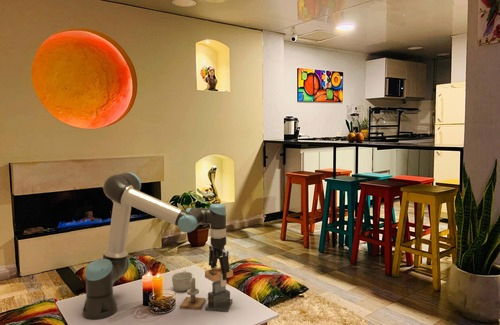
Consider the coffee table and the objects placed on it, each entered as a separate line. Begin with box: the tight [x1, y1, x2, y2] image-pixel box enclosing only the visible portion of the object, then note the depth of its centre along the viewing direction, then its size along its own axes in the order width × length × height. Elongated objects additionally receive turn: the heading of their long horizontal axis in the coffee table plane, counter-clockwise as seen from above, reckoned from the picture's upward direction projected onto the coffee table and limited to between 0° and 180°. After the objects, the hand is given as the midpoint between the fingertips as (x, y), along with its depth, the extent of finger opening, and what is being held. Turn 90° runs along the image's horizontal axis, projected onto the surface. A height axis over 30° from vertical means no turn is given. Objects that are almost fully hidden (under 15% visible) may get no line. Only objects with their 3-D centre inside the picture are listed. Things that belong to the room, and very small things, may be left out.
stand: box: [179, 277, 207, 311], centre depth 188 cm, size 10×10×13 cm
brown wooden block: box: [204, 266, 234, 283], centre depth 185 cm, size 11×7×3 cm, turn 127°
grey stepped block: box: [204, 280, 233, 313], centre depth 186 cm, size 11×11×14 cm
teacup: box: [171, 270, 193, 292], centre depth 208 cm, size 14×11×8 cm
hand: (219, 283), depth 185 cm, fingers closed on brown wooden block, 7 cm apart
